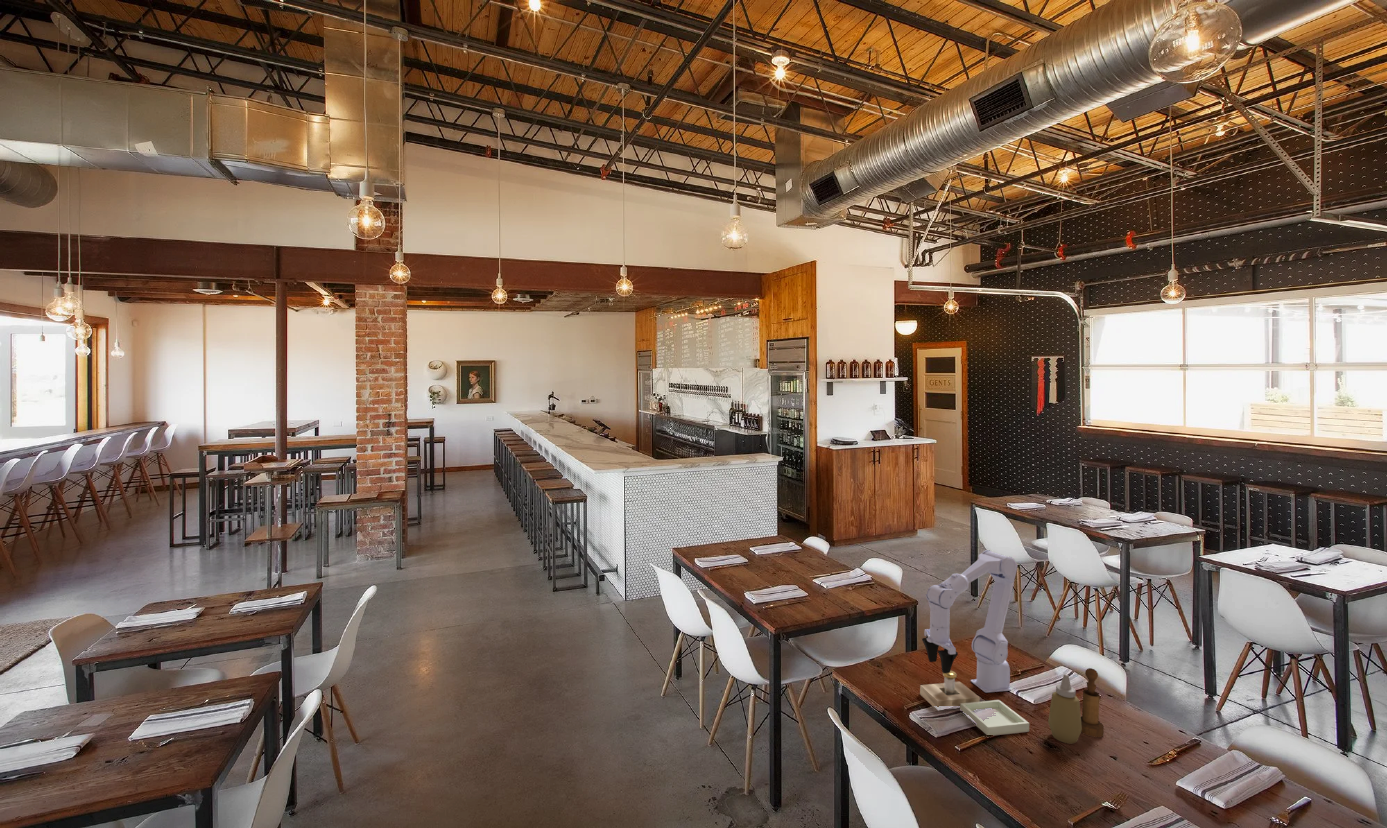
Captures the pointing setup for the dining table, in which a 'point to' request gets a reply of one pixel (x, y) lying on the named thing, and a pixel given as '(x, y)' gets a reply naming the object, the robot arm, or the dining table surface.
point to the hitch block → (939, 698)
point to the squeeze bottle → (1065, 713)
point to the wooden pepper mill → (1091, 707)
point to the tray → (996, 718)
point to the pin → (949, 683)
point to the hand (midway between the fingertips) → (939, 666)
